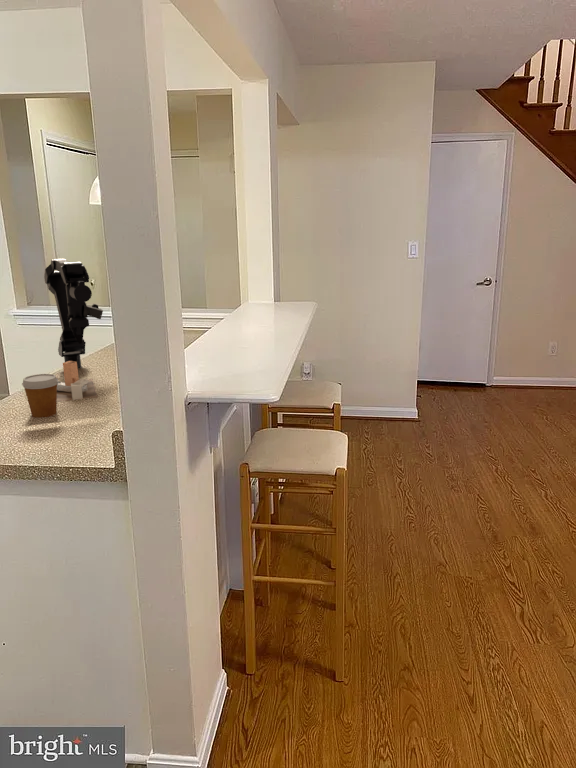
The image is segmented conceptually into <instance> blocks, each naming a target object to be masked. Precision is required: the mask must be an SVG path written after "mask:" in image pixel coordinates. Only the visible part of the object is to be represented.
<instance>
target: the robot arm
mask: <svg viewBox="0 0 576 768" xmlns="http://www.w3.org/2000/svg"><path fill="white" fill-rule="evenodd" d="M43 276H44V277H43V278H44V284H46V285H47V290H48V291H49V292H50V293H52V294H53V295H54V299H55V305H56V309H57V311H58V313H57V314H58V316H59V321H60V325H61V326H60V327H61V329H62V330H61V331H62V332H61V334H60V337H59V342H58V349H57V350H58V351H57V352H58V355H59V356H60V358H64V359H63V361H64V362H67V361H77V368H78V370H79V369H82V368H83V366H82V361H81V355H85V354H86V344H87V343H86V341H85V339H84V333H85V332H84V331H85V329H86V328H87V327H90V321H89V319H88V317H92V318H96V319H97V320H102V316H103V312H104V310H103V309H102V308H99V304H96V303H93V304H92V305H87V302H88V301H90V300H91V299H92V295H93V294H92V289H91V288H90V287H89V286H88V285H86V283H90V276H89V273H88V270H87V268H86V267H85V265H84V264H83V262H81V261H72V262H71V261H68V260H67V259H66V258H53V259H51V261H50V264H49V265H48V266H47V267H46V268H45V269H44V275H43Z"/></svg>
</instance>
